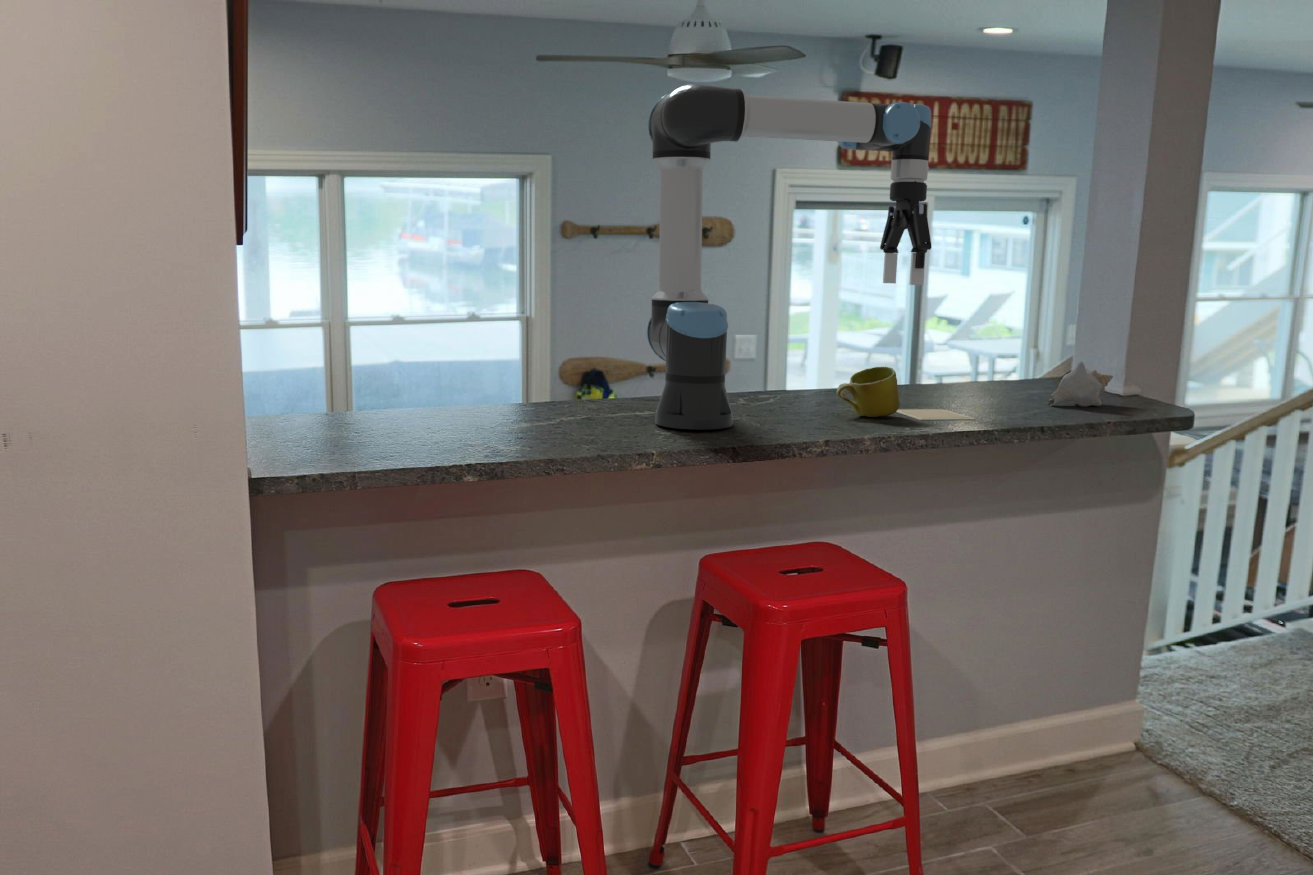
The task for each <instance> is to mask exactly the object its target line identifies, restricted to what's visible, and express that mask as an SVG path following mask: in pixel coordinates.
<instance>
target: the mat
mask: <svg viewBox="0 0 1313 875" xmlns="http://www.w3.org/2000/svg"><path fill="white" fill-rule="evenodd" d="M895 413H898V414H901V415H904V416H906V417H909V418H913V419H915V420H917V421H918V420H919V421H964V420H965V421H976V418H974V417H972V416H967V415H964V414H960V413H957V412H954V411H950V410H947V409H944V408H943V409H939V408H934V409H933V408H932V409H930V408H929V409H924V408H923V409H921V408H920V409H919V408H917V409H898V410H897V411H896V412H895Z"/></svg>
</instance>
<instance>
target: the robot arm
mask: <svg viewBox="0 0 1313 875" xmlns="http://www.w3.org/2000/svg"><path fill="white" fill-rule="evenodd" d="M647 121H648V122H647V130H648V135H649V138H650V140H651V143H652V162H653V163H654V164H655V165H656V167H658V168H659V249H658V250H659V257H658V258H659V261H658V262H659V264H658V266H659V267H658V270H659V271H658V272H659V274H658V280H659V281H658V283H659V284H658V289H657V290H658V291H657V292H656V293H655V294H654V295H652V297H651V314H650V315H651V316H650V319H649V320H648V323H647V326H646V327H647V328H646V338H647V341H648V345H649V347H650V348H651V350H652V352H653V353H654V354H655V355H656V356H658V358H659V359H661V360H662V361H663V362H665V379H664V380H665V381H664V382H665V383H664V387H663V390H662V393H661V396H660V399H659V401H658V404H657V407H656V410H655V416H654V417H655V421H654V422H655V425H657V426H661V427H665V428H669V429H670V428H671V429H680V430H697V431H698V430H705V431H706V430H719V429H720V430H721V429H727V428H731V427H732V426H733V424H734V420H733V419H734V414H733V410H732V406H731V403H730V400H729V397H728V396H729V395H728V392H727V389H726V368H727V367H726V364H727V343H728V342H727V341H728V340H727V339H728V338H727V336H728V335H727V334H728V329H729V322H728V315H727V311H726V309H725V308H724V307H722V306H720V305H718V304H714V303H709V297H708V296H707V295H706V294H705V293H704V292H703V290H702V249H703V248H702V244H703V243H702V241H703V183H704V182H703V181H704V180H703V178H704V177H703V174H704V172H703V171H704V169H705V167H706V166H707V165H708V164H709V163H710V162H711V154H712V153H711V152H712V150H711V149H712V148H711V147H712V145H711V144H713V143H719V142H720V143H721V142H735V143H736V142H740V141H741V140H742V139H743V138H745V137H746V138H748V137H749V138H764V139H765V138H766V139H784V140H785V139H786V140H787V139H788V140H802V141H803V140H805V141H823V142H837V143H838V145H839V147H840V148H842V149H844V150H852V151H854V152H856V151H870V152H871V151H873V152H874V151H875V152H889V153H890V152H892V153H891V154H892V155H891V156H892V157H891V168H890V180H891V181H892V182H891V183H890V186H889V187H890V188H889V200H890V201H892V202H896V203H895V206H891V205H890V206H889V207H888V211H887V218H886V223H885V225H884V230H883V234H882V238H881V242H880V246H879V248H880V250H881V251H883V253H884V258H883V274H882V283H883V284H896V283H897V272H898V270H897V269H898V254H899V249H898V246H899V245H900V242H901V239H902V238H903V235H904V232H905V231H906V230H907V231H908V232H907V233H908V235H909V239H910V242H911V246H912V248H911V250H910V254H911V255H910V267H909V268H910V271H909V283H908V284H909V285H910V286H924V279H925V264H926V263H925V262H926V254H927V252H928V250H929V251H931V249H932V240H931V239H932V238H931V234H930V227H929V220H928V205H927V203H924V204H923V203H920V202H925V201H926V200H927V191H928V190H927V189H928V184H927V183H925V181H927V180H928V173H929V170H930V166H929V160H930V157H929V156H930V145H931V144H930V142H931V133H932V132H931V131H932V110H931V108H930V107H929V106H928V105H925V104H917V103H914V104H912V103H909V102H905V101H902V102H901V101H900V102H899V101H896V102H893V103H891V104H890V103H889V104H887V103H871V102H859V101H858V102H857V101H843V100H827V99H826V100H825V99H811V98H798V97H782V96H766V95H751V94H749V95H748V94H747V93H746V92H745V90H744V89H742V88H733V87H732V88H731V87H724V86H713V85H709V84H708V85H707V84H701V83H700V84H698V83H697V84H696V83H693V84H692V83H691V84H684V85H682V86H678V88H676V89H674V90H672V92H668V93H666V94H664V96H661V97H660V99H658V100H657V101H656V103H655V104H654V105H653V107H652V109H651V112H650V114H649V117H648V120H647Z"/></svg>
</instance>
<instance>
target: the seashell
mask: <svg viewBox="0 0 1313 875" xmlns="http://www.w3.org/2000/svg"><path fill="white" fill-rule="evenodd" d="M1113 378H1114V375H1111V374H1102V373H1100V372H1098V371H1097V370H1096V369H1094V370H1091V371H1090V369H1088V368H1086V367H1085V364H1084V362H1083V361H1081V360H1080V361H1079V362H1077V364H1076V365H1075V366H1074V368H1073V369H1072V370H1071V371H1070V372H1069V373H1067V374H1065V375H1064V376H1063V377H1062V378H1061V380H1060V382H1059V384H1058V387H1057V389H1056V390H1055V391H1054V392H1053V393H1051V395H1050V396H1051V398H1050V399H1048V400H1047V405H1048V406H1049V407H1051V406H1055V405H1057V404H1060V403H1065V402H1072V403H1074V404H1075V405H1077V406H1078V407H1084V408H1085V407H1086V408H1087V407H1091V406H1095V407H1101V406H1102V401H1101V399H1100V394H1102V393H1105V392H1106V387H1108V384H1109V383H1110V382H1111V380H1112V379H1113Z"/></svg>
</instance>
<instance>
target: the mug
mask: <svg viewBox="0 0 1313 875" xmlns="http://www.w3.org/2000/svg"><path fill="white" fill-rule="evenodd" d="M845 392H848V393H850V394H851V396H852V397H853V400H854V401H853V400H851V398H850V397H848V396H847V395H845ZM836 395H837V396H838V397H839V398H840V399H841V400H843V401H845V402H846V403H848V404H849V406H851V408H852V410H853V411H854V412H855V413H856V414H857V415H858V416H865V417H868V418H879V417H888V416H891V415H893V414H896V413H897V412H896V411H897V410H899V408H900V406H901V404H900V396H899V389H898V378H897V373H896V370H895V369H894V368H892V367H888V366H875V367H871V368H865V369H863V370H860V371H856V372H855V373H854V374H852V376H850V379H849V383H841V384H839V385H838V387H837V389H836Z"/></svg>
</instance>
